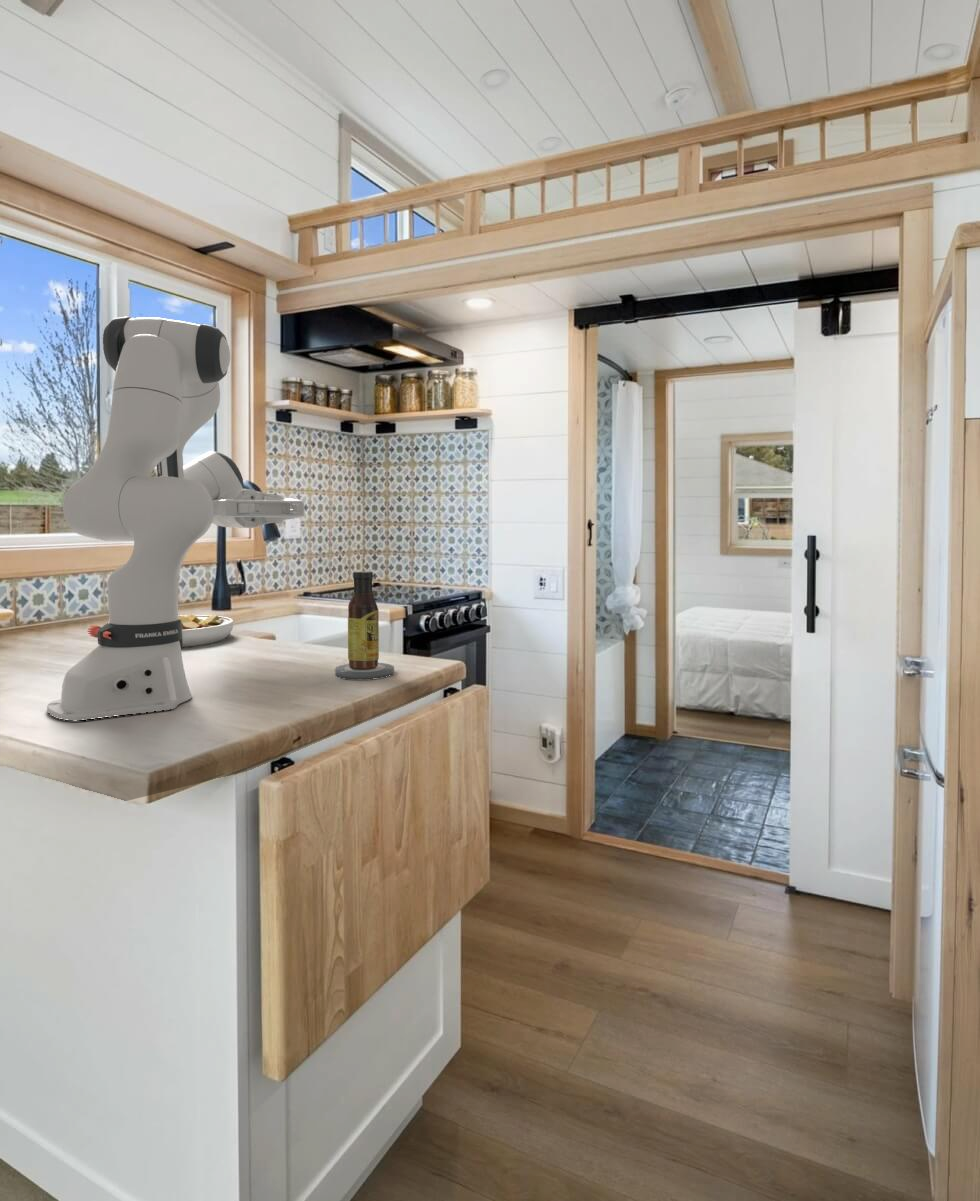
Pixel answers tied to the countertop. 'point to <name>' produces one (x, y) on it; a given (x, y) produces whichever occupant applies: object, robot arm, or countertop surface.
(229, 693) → the countertop surface
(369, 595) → the sauce bottle
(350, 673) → the slate trivet
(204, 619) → the bowl
